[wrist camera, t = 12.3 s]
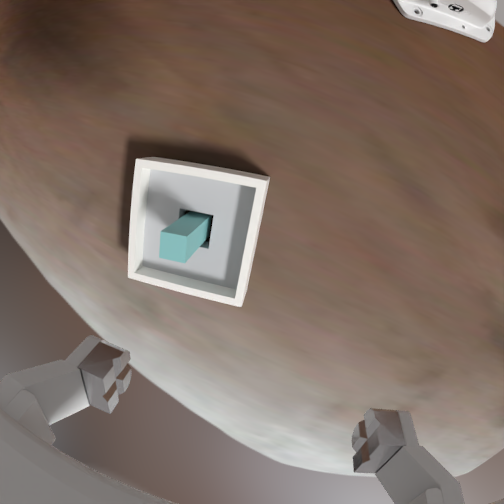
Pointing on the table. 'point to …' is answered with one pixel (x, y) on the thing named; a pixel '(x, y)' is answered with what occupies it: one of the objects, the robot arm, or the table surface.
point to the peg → (184, 236)
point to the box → (204, 201)
